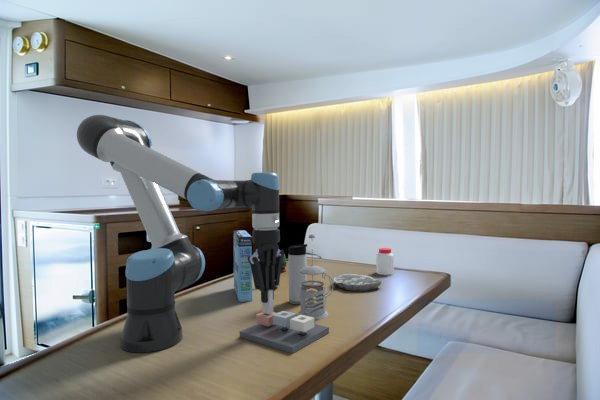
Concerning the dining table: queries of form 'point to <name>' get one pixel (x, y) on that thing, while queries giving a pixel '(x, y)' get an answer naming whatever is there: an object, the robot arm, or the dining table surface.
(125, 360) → the dining table surface
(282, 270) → the binoculars
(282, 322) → the grey key
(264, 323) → the pink cube
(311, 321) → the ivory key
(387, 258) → the pill bottle
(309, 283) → the french press
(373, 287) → the brain slice
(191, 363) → the dining table surface
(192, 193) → the robot arm
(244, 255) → the gum box
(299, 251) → the travel mug
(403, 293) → the dining table surface
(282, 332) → the keyboard base
